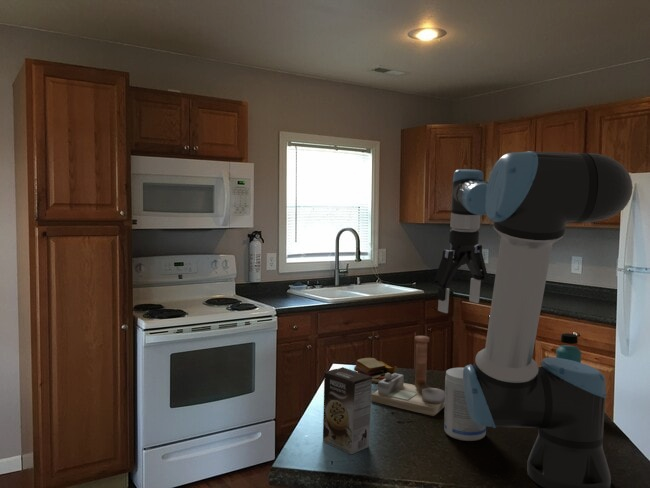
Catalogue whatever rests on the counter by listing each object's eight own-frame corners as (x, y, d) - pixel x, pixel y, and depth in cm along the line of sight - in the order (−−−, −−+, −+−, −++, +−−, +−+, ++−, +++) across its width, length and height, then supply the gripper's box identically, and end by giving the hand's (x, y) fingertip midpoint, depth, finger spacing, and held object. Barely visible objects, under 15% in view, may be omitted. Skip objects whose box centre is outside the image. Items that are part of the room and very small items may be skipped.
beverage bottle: (577, 413, 143) (582, 338, 142) (550, 408, 147) (554, 334, 145) (581, 406, 149) (585, 333, 147) (554, 401, 152) (558, 330, 151)
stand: (433, 416, 140) (434, 388, 139) (371, 401, 149) (371, 375, 149) (452, 400, 151) (453, 375, 151) (393, 387, 161) (394, 363, 161)
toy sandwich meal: (371, 386, 162) (372, 371, 162) (348, 373, 174) (348, 359, 174) (405, 380, 168) (406, 365, 168) (380, 368, 180) (381, 354, 180)
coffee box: (321, 441, 123) (322, 371, 122) (340, 433, 128) (342, 366, 127) (351, 455, 117) (353, 381, 116) (370, 446, 122) (372, 375, 120)
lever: (448, 402, 143) (450, 348, 142) (427, 403, 142) (429, 349, 141) (427, 384, 157) (429, 335, 156) (407, 386, 155) (409, 336, 154)
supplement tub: (494, 437, 128) (496, 375, 127) (466, 446, 123) (468, 381, 122) (462, 422, 136) (464, 364, 135) (434, 430, 131) (437, 370, 130)
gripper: (480, 222, 154) (474, 295, 158) (421, 232, 138) (417, 312, 143) (504, 226, 148) (497, 301, 153) (445, 236, 132) (440, 320, 137)
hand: (458, 306), depth 148 cm, fingers open, 13 cm apart
